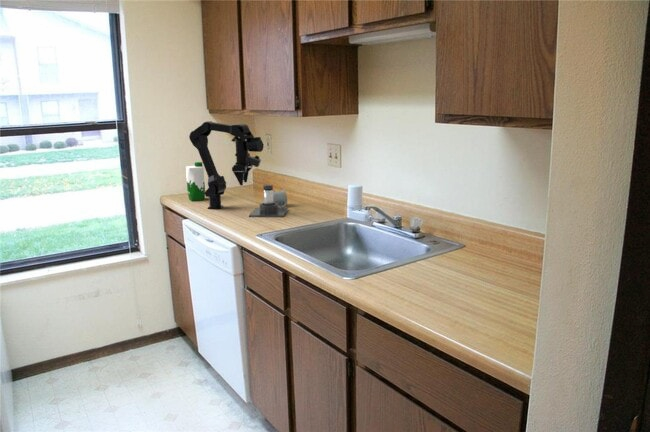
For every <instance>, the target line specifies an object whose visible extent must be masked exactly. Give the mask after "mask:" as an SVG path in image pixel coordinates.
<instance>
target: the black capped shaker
mask: <svg viewBox="0 0 650 432" xmlns="http://www.w3.org/2000/svg"><path fill="white" fill-rule="evenodd" d="M262 187H263V189H262V190H263V203H264V205H265V206H271V205H274V204H273V192H274V185H273V184H264V185H263V186H262Z"/></svg>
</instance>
